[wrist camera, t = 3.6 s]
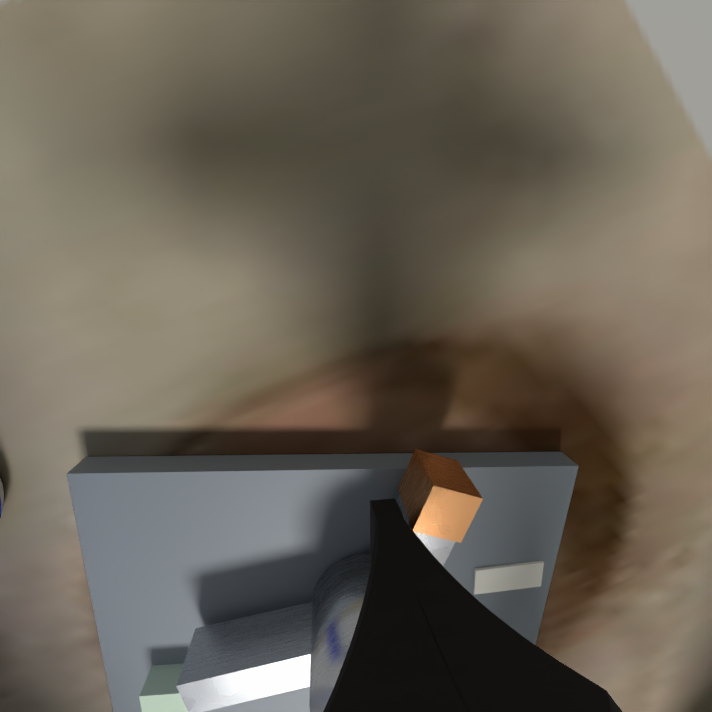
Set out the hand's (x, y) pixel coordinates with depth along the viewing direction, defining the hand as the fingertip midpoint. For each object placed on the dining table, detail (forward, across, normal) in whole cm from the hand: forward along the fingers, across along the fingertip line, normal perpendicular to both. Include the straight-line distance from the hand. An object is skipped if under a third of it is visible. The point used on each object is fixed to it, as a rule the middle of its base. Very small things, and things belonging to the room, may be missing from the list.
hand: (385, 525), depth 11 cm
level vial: (+2, +8, +10) cm, 13 cm away
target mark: (+1, -5, +4) cm, 7 cm away
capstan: (+1, 0, +4) cm, 5 cm away
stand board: (+2, +2, +6) cm, 7 cm away
